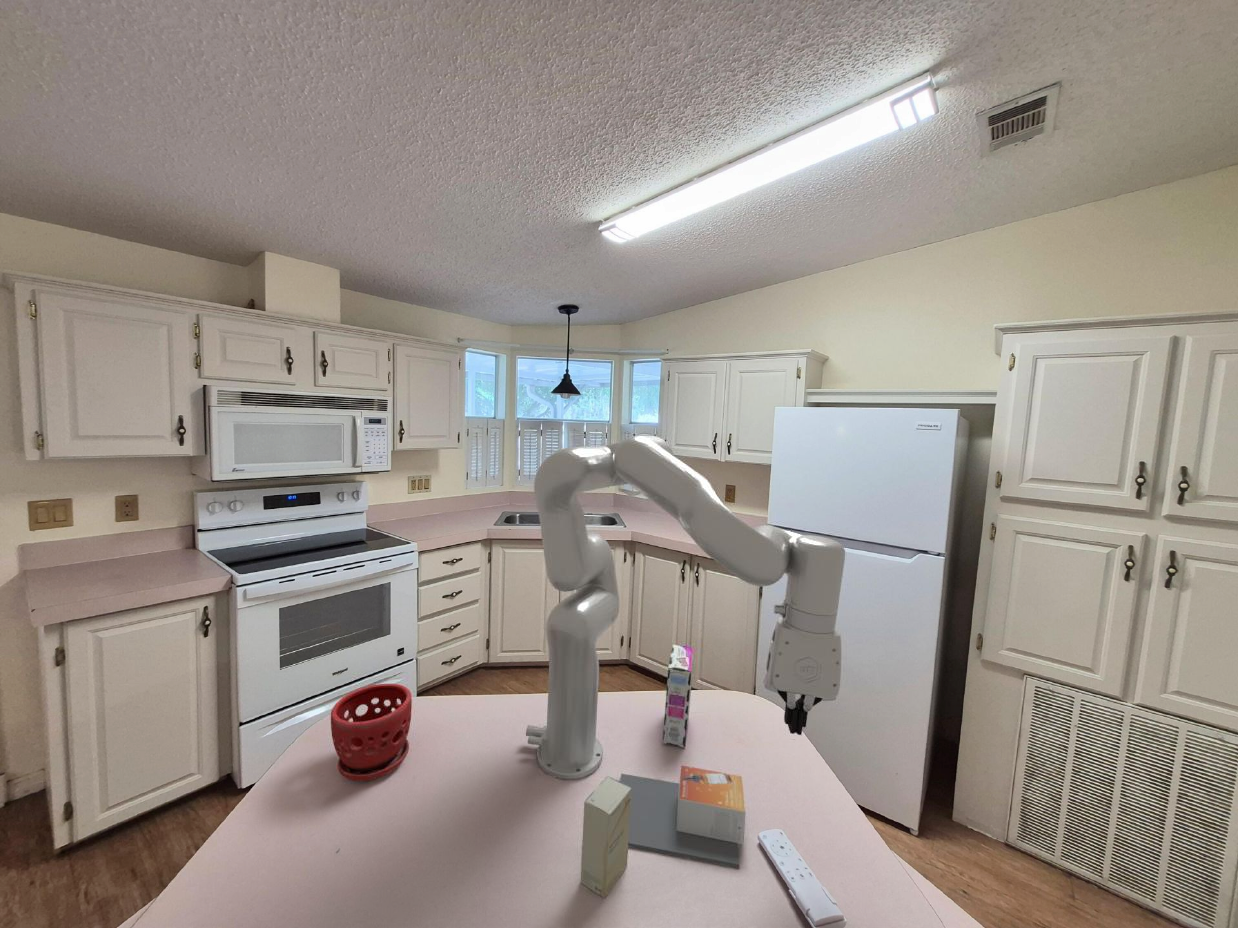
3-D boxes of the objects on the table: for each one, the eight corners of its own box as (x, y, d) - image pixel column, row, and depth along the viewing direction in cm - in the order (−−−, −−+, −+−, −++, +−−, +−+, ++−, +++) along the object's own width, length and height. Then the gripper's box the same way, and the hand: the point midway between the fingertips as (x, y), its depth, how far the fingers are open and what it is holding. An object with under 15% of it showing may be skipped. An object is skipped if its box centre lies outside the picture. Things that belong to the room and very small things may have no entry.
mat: (607, 842, 73) (607, 838, 73) (621, 776, 87) (621, 773, 87) (739, 867, 70) (739, 864, 70) (732, 795, 84) (732, 792, 83)
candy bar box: (686, 749, 95) (692, 671, 94) (661, 744, 96) (666, 667, 95) (689, 716, 106) (694, 646, 104) (667, 712, 107) (671, 643, 105)
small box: (746, 812, 72) (678, 799, 74) (743, 845, 73) (675, 832, 75) (742, 774, 80) (680, 763, 82) (739, 805, 81) (678, 793, 82)
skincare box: (604, 899, 64) (609, 816, 63) (578, 881, 66) (582, 801, 65) (628, 864, 69) (633, 787, 68) (603, 848, 72) (607, 773, 71)
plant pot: (409, 732, 96) (410, 675, 95) (411, 777, 84) (413, 713, 83) (335, 748, 90) (335, 688, 89) (326, 799, 78) (326, 730, 77)
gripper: (762, 619, 70) (747, 735, 72) (869, 635, 67) (851, 754, 69) (756, 600, 77) (743, 706, 79) (852, 614, 75) (836, 722, 77)
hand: (793, 728), depth 74 cm, fingers closed
